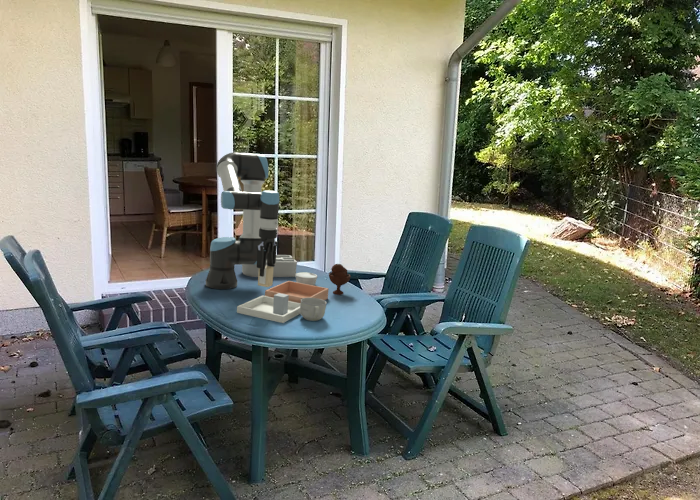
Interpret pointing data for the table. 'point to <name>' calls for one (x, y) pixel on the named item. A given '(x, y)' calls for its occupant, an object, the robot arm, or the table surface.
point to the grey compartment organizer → (282, 267)
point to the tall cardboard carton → (267, 277)
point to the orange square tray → (298, 291)
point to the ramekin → (306, 278)
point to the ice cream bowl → (339, 277)
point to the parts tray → (268, 309)
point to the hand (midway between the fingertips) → (265, 282)
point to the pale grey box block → (280, 304)
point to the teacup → (312, 308)
